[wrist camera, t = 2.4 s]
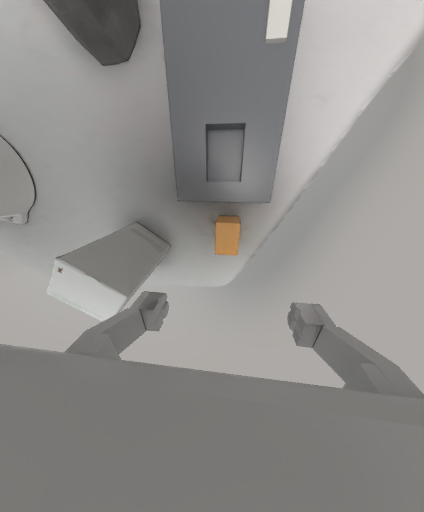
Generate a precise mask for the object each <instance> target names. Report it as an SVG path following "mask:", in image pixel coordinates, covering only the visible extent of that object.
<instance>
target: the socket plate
mask: <svg viewBox="0 0 424 512" xmlns="http://www.w3.org/2000/svg"><path fill="white" fill-rule="evenodd" d="M304 2H305V0H160V9H161V20H162V31H163V42H164V53H165V64H166V75H167V86H168V98H169V109H170V120H171V131H172V142H173V153H174V164H175V175H176V187H177V198H178V201H199V202H248V203H270V201H271V195H272V189H273V183H274V177H275V172H276V166H277V160H278V154H279V148H280V142H281V136H282V131H283V125H284V119H285V113H286V107H287V101H288V95H289V90H290V84H291V78H292V72H293V66H294V60H295V54H296V49H297V43H298V37H299V31H300V25H301V19H302V13H303V8H304Z"/></svg>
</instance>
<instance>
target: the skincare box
mask: <svg viewBox="0 0 424 512" xmlns="http://www.w3.org/2000/svg"><path fill="white" fill-rule="evenodd" d="M170 247H171V246H170V245H169V244H167V243H166V242H164V241H163V240H161V239H160V238H159V237H157V236H156V235H154V234H153V233H151V232H150V231H148V230H147V229H146V228H144V227H143V226H141V225H140V224H138V223H134V224H132V225H129V226H127V227H125V228H123V229H121V230H119V231H116V232H114V233H112V234H110V235H108V236H105V237H103V238H101V239H99V240H96V241H94V242H92V243H90V244H88V245H85V246H83V247H81V248H79V249H77V250H74V251H72V252H69V253H67V254H65V255H62V256H59V257H56V258H55V261H54V266H53V270H52V274H51V278H50V282H49V285H48V289H47V294H49V295H51V296H53V297H55V298H57V299H59V300H61V301H63V302H65V303H67V304H69V305H71V306H73V307H75V308H77V309H79V310H81V311H83V312H85V313H86V314H88V315H90V316H92V317H94V318H96V319H98V320H100V321H102V322H103V321H105V320H107V319H108V318H110V317H112V316H114V315H116V314H118V313H119V312H120V311H121V309H122V308H123V307H124V306H125V305H126V303H127V302H128V301H129V300H130V298H131V297H132V296H133V295H134V293H135V292H136V291H137V290H138V289H139V287H140V286H141V285H142V284H143V283H144V281H145V280H146V279H147V278H148V276H149V275H150V274H151V273H152V272H153V270H154V269H155V268H156V267H157V266H158V264H159V263H160V262H161V260H162V259H163V257H164V256H165V254H166V253H167V251H168V250H169V248H170Z"/></svg>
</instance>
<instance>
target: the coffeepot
mask: <svg viewBox="0 0 424 512" xmlns="http://www.w3.org/2000/svg"><path fill="white" fill-rule="evenodd" d="M44 1H45V3H46V4H47V5H48V6H49V7H50V9H51V10H52V11H53V12H54V13H55V15H56V16H57V17H58V18H59V19H60V20H61V22H62V23H63V24H64V25H65V26H66V28H67V29H68V30H69V31H70V32H71V34H72V35H73V36H74V37H75V38H76V40H77V41H78V42H79V43H80V44H81V45H82V46H83V47H84V48H85V49H87V50H88V51H89V52H90V53H91V54H92V55H93V56H94V57H95V58H96V59H97V60H98V61H99V62H100V63H101V64H102V65H110V64H118V63H121V62H123V61H124V60H128V58H129V56H130V54H131V52H132V50H133V48H134V46H135V43H136V39H137V35H138V29H139V26H140V19H139V13H138V5H137V0H44Z"/></svg>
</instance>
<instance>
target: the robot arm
mask: <svg viewBox="0 0 424 512" xmlns="http://www.w3.org/2000/svg"><path fill="white" fill-rule="evenodd" d="M34 198H35V192H34V186H33V182H32V179H31V177H30V174H29V172H28V170H27V168H26V166H25V165H24V163H23V161H22V160H21V158H20V157H19V156H18V154H17V153H16V152H15V151H14V149H13V148H12V147H11V146H10V145H9V144H8V143H7V142H6V141H5V140H4V139H3V138H2V137H0V220H3V221H7V222H11V223H15V224H25V223H27V217H28V211H29V209H30V208H31V207H32V205H33V203H34ZM166 299H167V295H166V293H159V292H148V291H144V292H142V294H141V295H140V296H139V297H138V298H137V300H136V301H135V302H134V303H133V305H132V306H131V307H130V308H129V309H125V310H124V311H121V312H120V313H118V314H116V315H114V316H112V317H110V318H108V319H107V320H105V321H103V322H101V323H99V324H98V325H96V326H94V327H92V328H90V329H88V330H86V331H85V332H84V333H83V334H82V335H81V336H80V337H79V338H78V339H77V340H76V341H75V342H74V343H73V344H72V345H71V346H70V347H69V348H68V349H67V350H66V351H65V352H56V351H49V350H40V349H33V348H26V347H18V346H11V345H4V344H0V512H424V394H423V393H422V392H421V391H420V390H419V389H418V388H417V387H416V386H415V384H414V383H413V382H412V381H411V380H410V379H409V378H408V376H407V375H406V374H405V373H404V372H403V371H402V370H401V369H400V368H399V366H397V365H396V364H394V363H393V362H391V361H390V360H388V359H387V358H385V357H384V356H382V355H380V354H379V353H378V352H376V351H374V350H373V349H372V348H370V347H369V346H367V345H366V344H364V343H363V342H361V341H360V340H358V339H357V338H355V337H353V336H352V335H351V334H349V333H348V332H346V331H345V330H343V329H342V328H340V327H336V325H335V324H334V322H333V321H332V320H331V318H330V317H329V316H328V314H327V313H326V312H325V310H324V309H323V307H322V306H321V305H320V304H306V303H292V304H291V306H290V308H291V311H290V312H289V313H288V325H289V327H290V329H291V330H292V331H293V338H294V340H295V342H296V345H297V346H303V347H310V348H313V349H314V351H315V352H316V353H317V354H318V355H319V356H320V357H321V358H322V359H323V360H324V361H325V362H326V363H327V364H328V365H329V366H330V367H331V368H332V369H333V370H334V371H335V372H336V373H337V374H338V375H339V376H340V377H341V378H342V379H343V380H344V382H345V383H346V384H345V385H344V387H343V388H334V387H326V386H318V385H311V384H303V383H295V382H288V381H280V380H272V379H264V378H257V377H248V376H241V375H233V374H226V373H218V372H210V371H202V370H194V369H187V368H178V367H171V366H163V365H156V364H148V363H141V362H133V361H125V360H121V358H120V356H119V354H120V353H121V352H122V351H123V350H124V349H125V348H127V347H128V346H129V345H130V344H132V343H133V342H134V341H135V340H136V339H137V338H139V337H140V336H141V335H142V334H143V333H144V332H146V330H148V331H159V330H160V328H161V326H162V324H163V319H164V318H165V317H166V316H167V313H168V309H169V305H168V302H167V301H166Z"/></svg>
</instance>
